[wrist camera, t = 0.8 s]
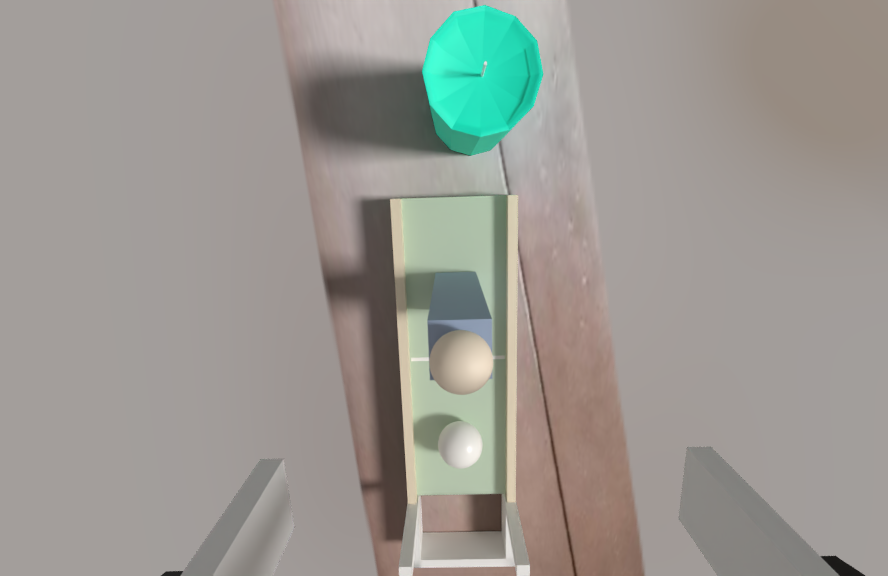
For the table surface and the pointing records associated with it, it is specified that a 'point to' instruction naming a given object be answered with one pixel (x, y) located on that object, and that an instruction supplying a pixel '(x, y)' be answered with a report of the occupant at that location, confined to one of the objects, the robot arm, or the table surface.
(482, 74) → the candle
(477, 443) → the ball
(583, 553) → the table surface
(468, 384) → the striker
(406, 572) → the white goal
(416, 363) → the pitch
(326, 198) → the table surface
